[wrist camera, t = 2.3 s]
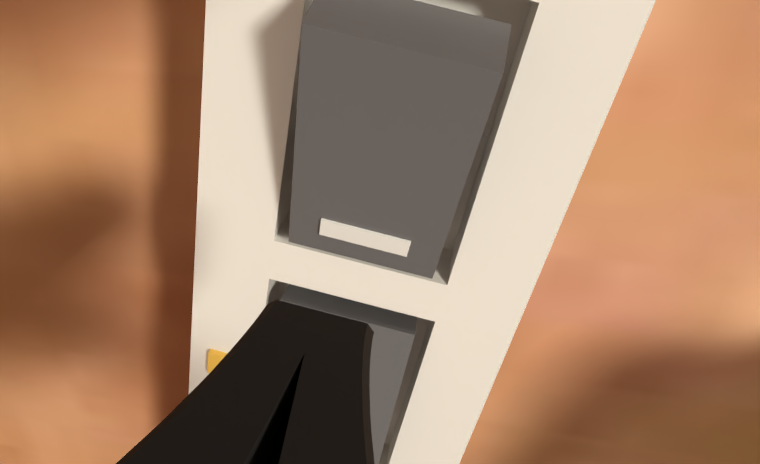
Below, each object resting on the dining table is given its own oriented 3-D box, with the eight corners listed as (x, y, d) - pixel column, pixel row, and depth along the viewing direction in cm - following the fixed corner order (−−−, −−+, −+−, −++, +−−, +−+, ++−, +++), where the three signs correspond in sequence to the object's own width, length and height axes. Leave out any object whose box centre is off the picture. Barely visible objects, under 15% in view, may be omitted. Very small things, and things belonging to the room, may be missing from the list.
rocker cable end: (511, 24, 13) (503, 76, 12) (441, 232, 17) (431, 281, 16) (323, -23, 13) (301, 25, 12) (305, 197, 17) (287, 243, 17)
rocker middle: (418, 309, 19) (414, 336, 17) (368, 487, 21) (362, 524, 20) (292, 276, 19) (279, 301, 18) (256, 457, 21) (241, 491, 20)
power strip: (782, -434, 12) (864, -485, 9) (401, 545, 29) (388, 633, 27) (302, -544, 12) (229, -628, 9) (213, 494, 30) (179, 577, 27)
